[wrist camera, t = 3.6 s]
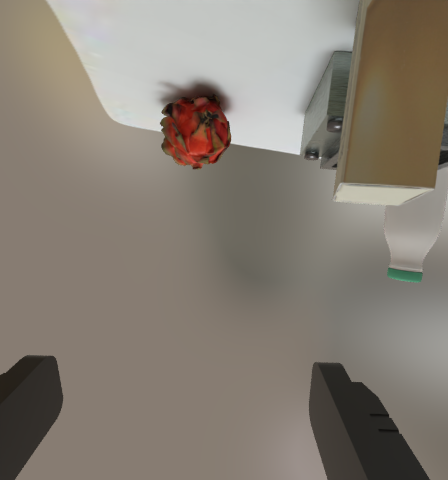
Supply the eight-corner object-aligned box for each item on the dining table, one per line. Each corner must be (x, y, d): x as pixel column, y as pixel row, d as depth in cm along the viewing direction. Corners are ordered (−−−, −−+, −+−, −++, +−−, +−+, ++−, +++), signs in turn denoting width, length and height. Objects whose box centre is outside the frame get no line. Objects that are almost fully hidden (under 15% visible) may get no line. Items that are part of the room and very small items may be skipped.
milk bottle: (384, 150, 44) (367, 275, 45) (445, 141, 38) (424, 286, 39) (403, 161, 49) (387, 274, 50) (459, 155, 43) (440, 284, 44)
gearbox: (555, 63, 21) (540, 151, 21) (443, 124, 33) (435, 179, 33) (334, 51, 22) (324, 134, 22) (305, 114, 34) (298, 167, 34)
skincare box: (425, 22, 18) (399, 207, 19) (353, 30, 20) (331, 202, 20) (480, -85, 12) (439, 193, 13) (371, -64, 14) (338, 187, 14)
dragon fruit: (183, 108, 40) (208, 50, 29) (225, 151, 42) (264, 112, 31) (143, 146, 38) (154, 99, 27) (190, 190, 40) (218, 163, 29)
